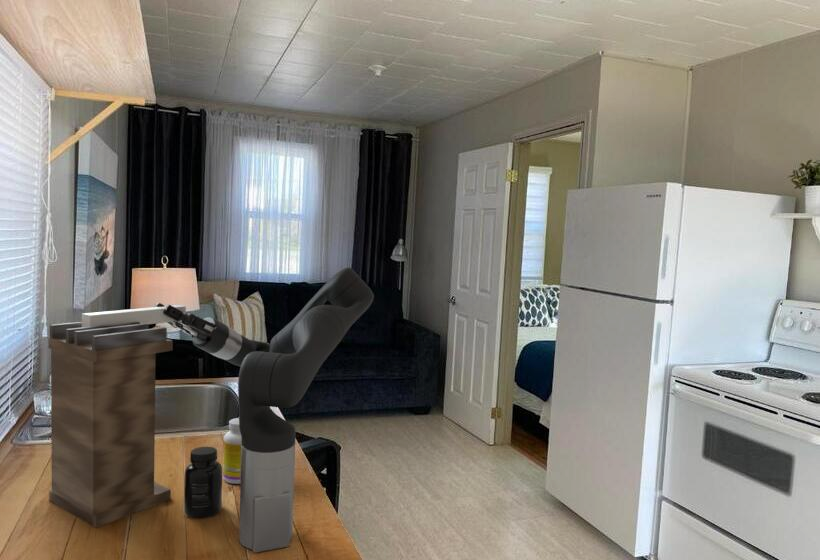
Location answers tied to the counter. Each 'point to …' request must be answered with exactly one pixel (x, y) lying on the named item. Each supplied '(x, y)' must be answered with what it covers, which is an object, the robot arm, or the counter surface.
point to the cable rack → (104, 419)
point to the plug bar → (129, 316)
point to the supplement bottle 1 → (203, 484)
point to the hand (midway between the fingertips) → (161, 308)
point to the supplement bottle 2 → (232, 453)
